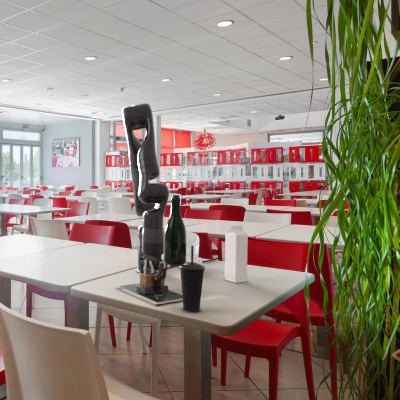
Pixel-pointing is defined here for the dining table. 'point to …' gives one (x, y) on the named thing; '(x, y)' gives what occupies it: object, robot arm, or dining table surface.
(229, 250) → the milk
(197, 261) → the container set
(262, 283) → the dining table surface
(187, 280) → the drinking cup
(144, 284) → the eraser
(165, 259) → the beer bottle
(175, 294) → the chalkboard
